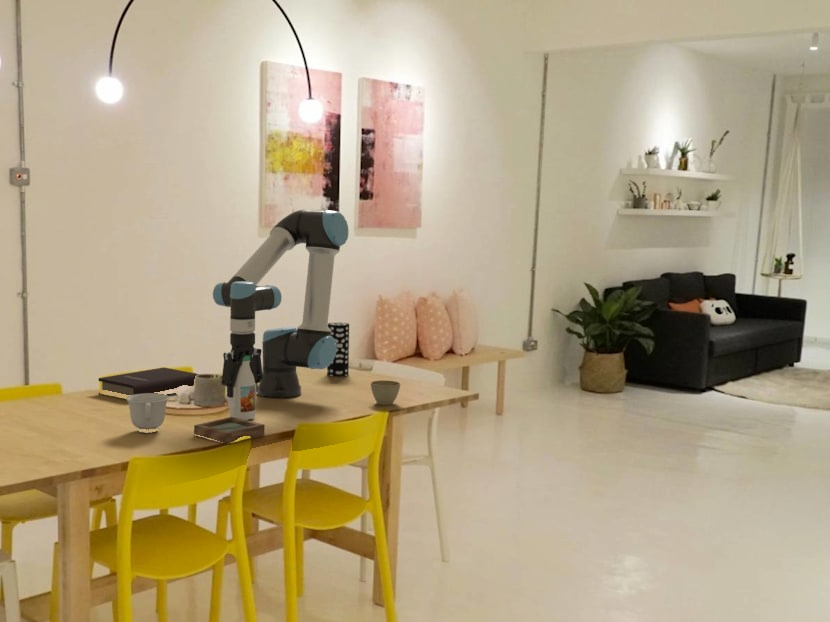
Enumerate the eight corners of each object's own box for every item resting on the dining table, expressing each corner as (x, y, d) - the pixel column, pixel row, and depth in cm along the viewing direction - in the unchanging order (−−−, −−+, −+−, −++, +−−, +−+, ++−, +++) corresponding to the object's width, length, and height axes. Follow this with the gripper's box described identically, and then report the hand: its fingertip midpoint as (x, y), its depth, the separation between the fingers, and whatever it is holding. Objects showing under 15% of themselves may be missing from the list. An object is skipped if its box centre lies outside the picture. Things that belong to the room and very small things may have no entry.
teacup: (125, 439, 261) (125, 404, 260) (126, 427, 275) (126, 393, 274) (170, 437, 264) (170, 403, 263) (168, 425, 278) (168, 392, 277)
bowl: (396, 407, 310) (396, 386, 309) (367, 405, 312) (367, 384, 311) (402, 401, 320) (403, 381, 319) (374, 399, 321) (374, 379, 321)
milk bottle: (230, 421, 285) (230, 357, 282) (228, 416, 292) (228, 352, 290) (256, 420, 287) (256, 356, 284) (253, 415, 294) (254, 352, 292)
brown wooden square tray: (194, 436, 267) (194, 425, 266) (231, 427, 278) (231, 416, 277) (227, 444, 258) (227, 433, 258) (264, 435, 270) (264, 424, 269)
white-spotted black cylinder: (352, 374, 366) (353, 323, 364) (339, 377, 359) (340, 326, 357) (335, 372, 371) (336, 322, 368) (322, 375, 364) (323, 324, 361)
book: (135, 403, 308) (135, 385, 308) (98, 395, 319) (98, 378, 319) (200, 390, 331) (200, 374, 330) (163, 383, 342) (163, 367, 341)
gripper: (225, 336, 276) (225, 412, 279) (275, 330, 292) (274, 401, 295) (208, 334, 280) (208, 408, 283) (258, 327, 297) (258, 398, 299)
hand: (242, 405), depth 289 cm, fingers closed on milk bottle, 8 cm apart
